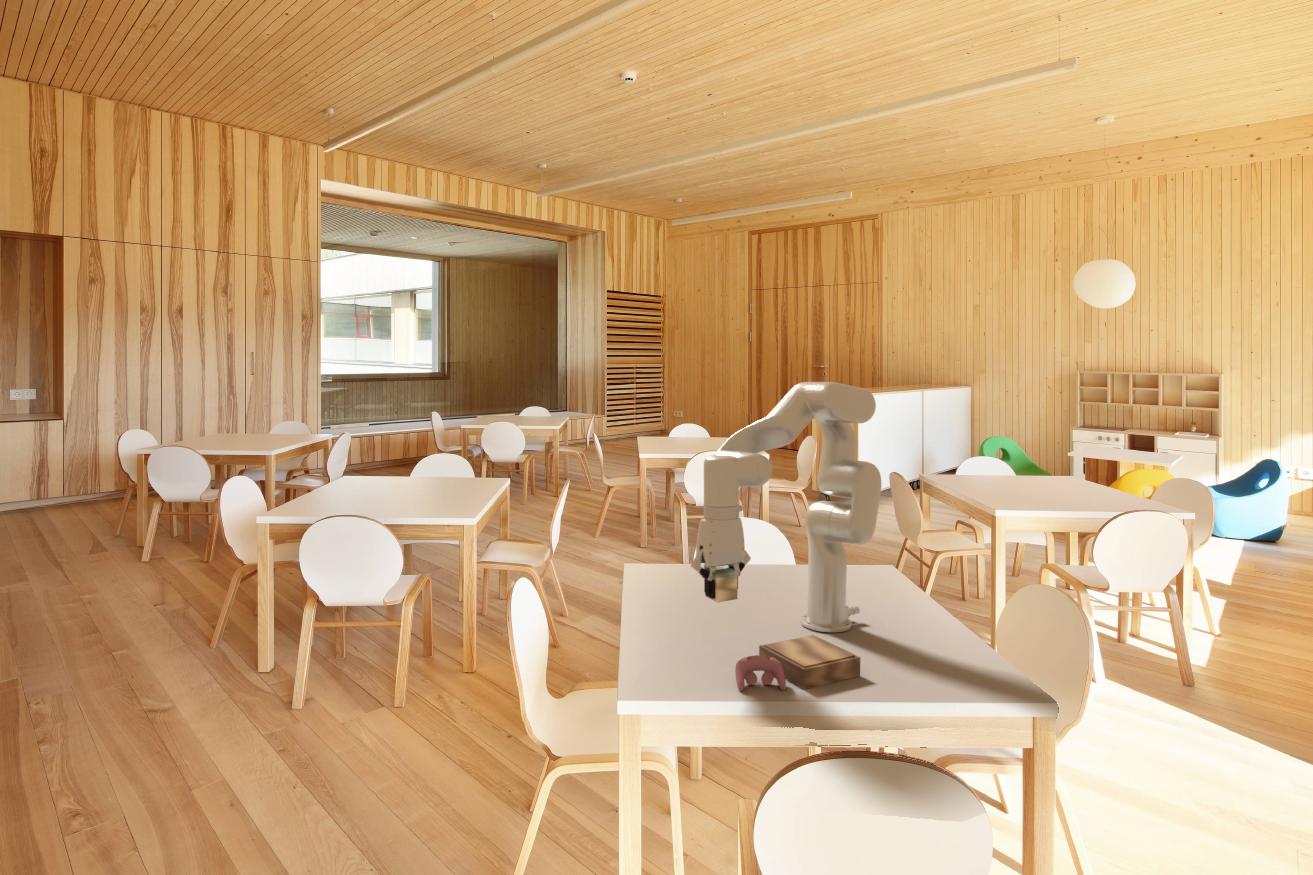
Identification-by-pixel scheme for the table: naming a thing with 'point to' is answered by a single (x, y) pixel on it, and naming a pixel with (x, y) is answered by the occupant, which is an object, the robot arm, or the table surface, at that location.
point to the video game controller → (759, 663)
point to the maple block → (725, 584)
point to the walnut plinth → (812, 661)
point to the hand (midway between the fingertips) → (721, 594)
